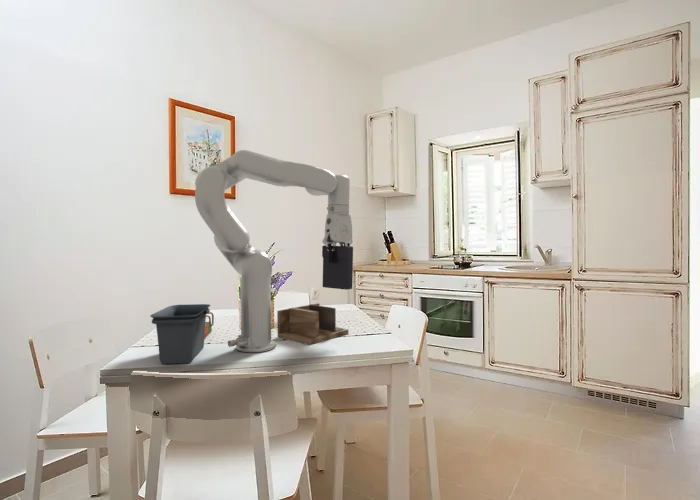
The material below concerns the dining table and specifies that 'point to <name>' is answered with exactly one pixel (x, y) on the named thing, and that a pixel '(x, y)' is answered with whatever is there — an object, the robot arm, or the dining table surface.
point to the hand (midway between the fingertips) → (337, 261)
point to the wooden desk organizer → (308, 324)
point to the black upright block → (338, 268)
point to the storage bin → (181, 331)
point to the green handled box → (207, 329)
